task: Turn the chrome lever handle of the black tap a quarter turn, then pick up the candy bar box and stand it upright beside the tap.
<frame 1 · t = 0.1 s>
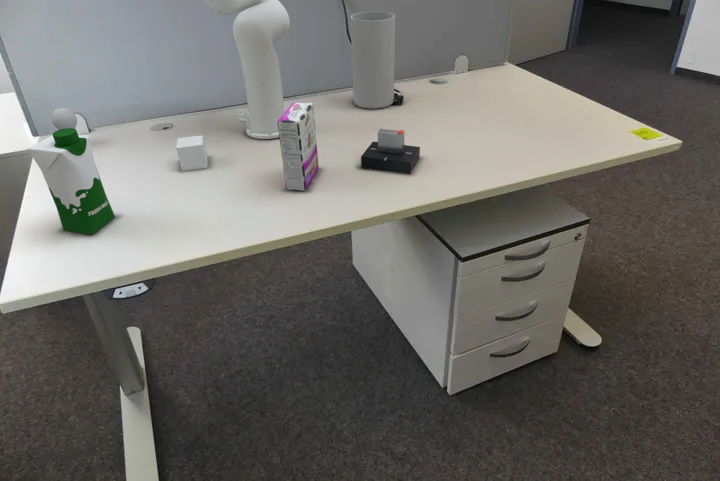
tap handle: (391, 141, 123), point 6 cm above the table, hinge at 0.0°
candy bar box: (302, 180, 120), on the table
cylinder vase: (373, 103, 161), on the table
white cube: (195, 164, 128), on the table
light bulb: (73, 145, 140), on the table
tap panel: (390, 162, 126), on the table
milk carton: (89, 224, 106), on the table
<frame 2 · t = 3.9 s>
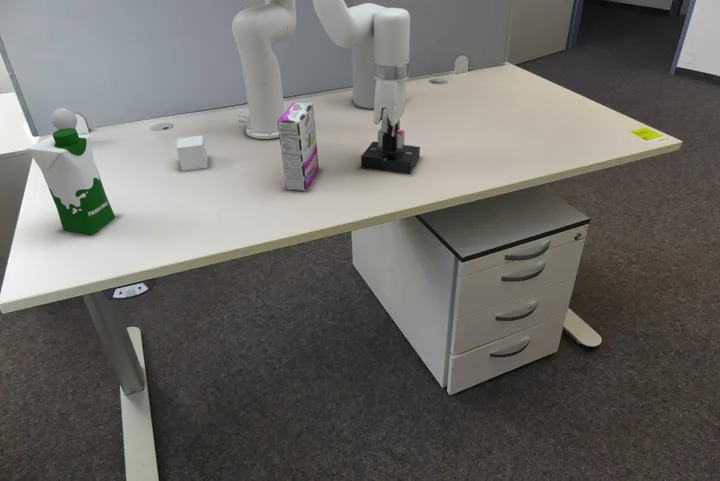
hand: (390, 148, 124), 4 cm above the table, tool pointing down, fingers closed on tap handle, 2 cm apart
tap handle: (391, 141, 123), point 6 cm above the table, hinge at 0.0°, touching gripper
everything else where it was.
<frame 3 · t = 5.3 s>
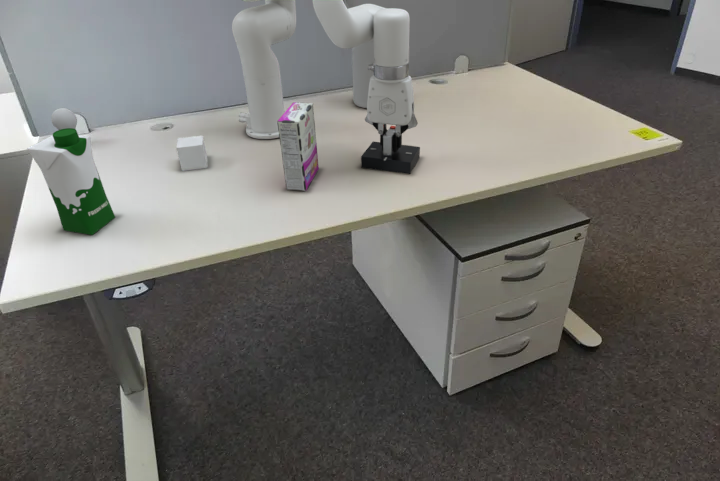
hand: (390, 148, 124), 4 cm above the table, tool pointing down, fingers closed, pressing on tap handle
tap handle: (391, 141, 123), point 6 cm above the table, hinge at 89.7°, touching gripper
everything else where it was.
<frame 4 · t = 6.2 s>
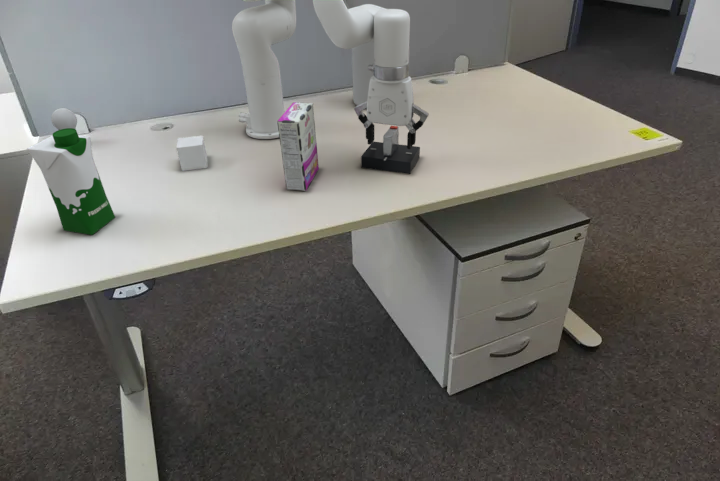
hand: (390, 144, 123), 5 cm above the table, tool pointing down, fingers open, 9 cm apart
tap handle: (391, 141, 123), point 6 cm above the table, hinge at 89.9°
everything else where it was.
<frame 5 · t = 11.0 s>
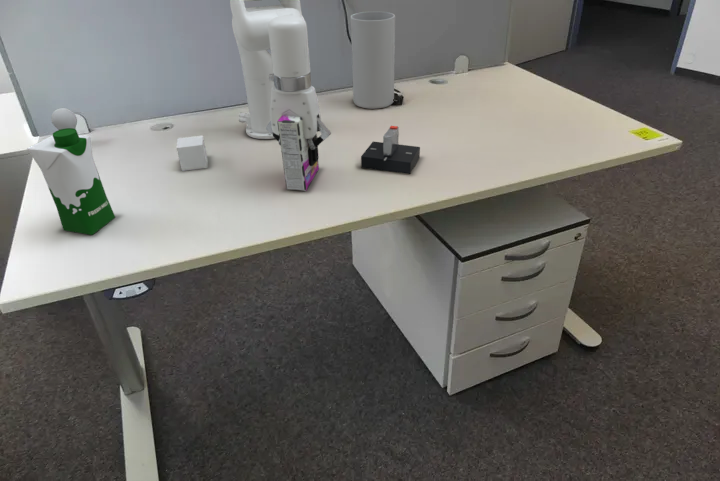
hand: (300, 161, 117), 5 cm above the table, tool pointing down, fingers closed on candy bar box, 5 cm apart
candy bar box: (302, 180, 120), on the table, touching gripper
everything else where it was.
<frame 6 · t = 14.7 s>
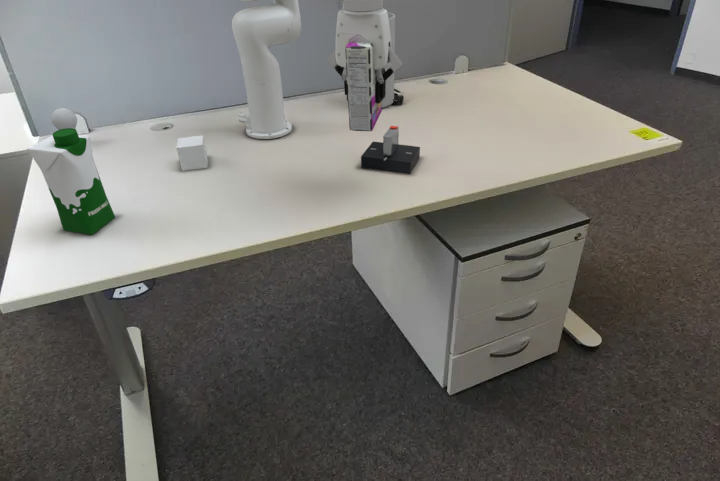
hand: (365, 99, 105), 20 cm above the table, tool pointing down, fingers closed on candy bar box, 5 cm apart
candy bar box: (365, 122, 107), point 15 cm above the table, touching gripper
everything else where it was.
when the fingers open (5 cm above the table, at t = 18.5 s): candy bar box stays where it is, on the table.
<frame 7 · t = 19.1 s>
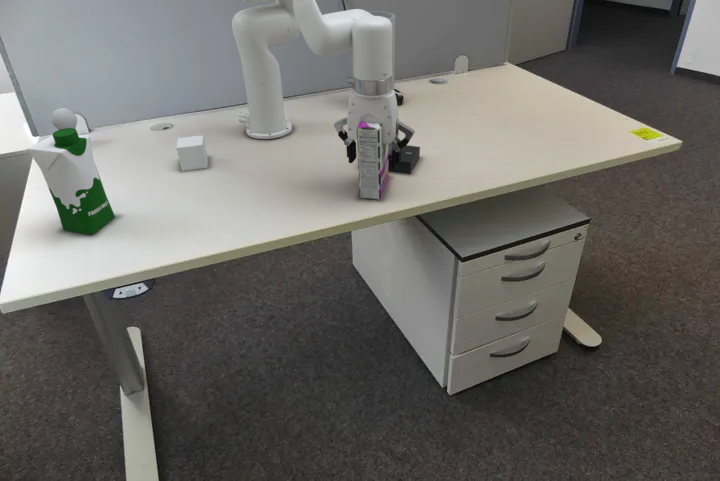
hand: (373, 163, 112), 6 cm above the table, tool pointing down, fingers open, 9 cm apart
candy bar box: (374, 188, 116), on the table
everything else where it was.
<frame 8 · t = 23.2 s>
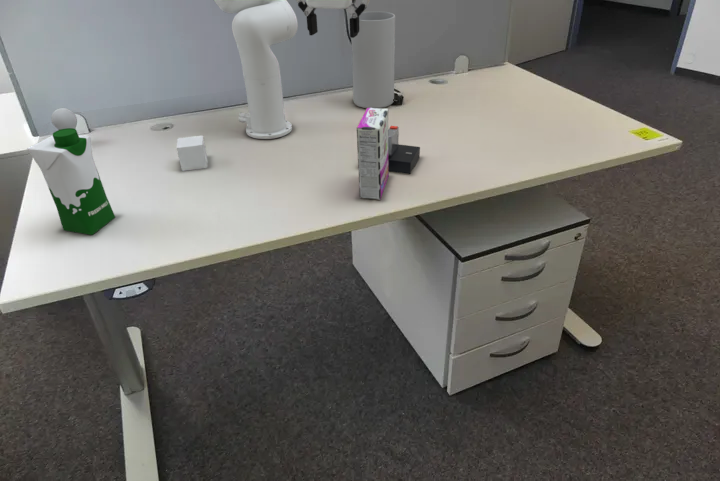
hand: (333, 35, 115), 28 cm above the table, tool pointing down, fingers open, 9 cm apart
nothing on the table moved.
at the end: tap handle at +90° (first picture: +0°); candy bar box inside the target area on the table beside the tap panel (0.3 cm from its centre), on the table; candy bar box tilted 0° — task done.
